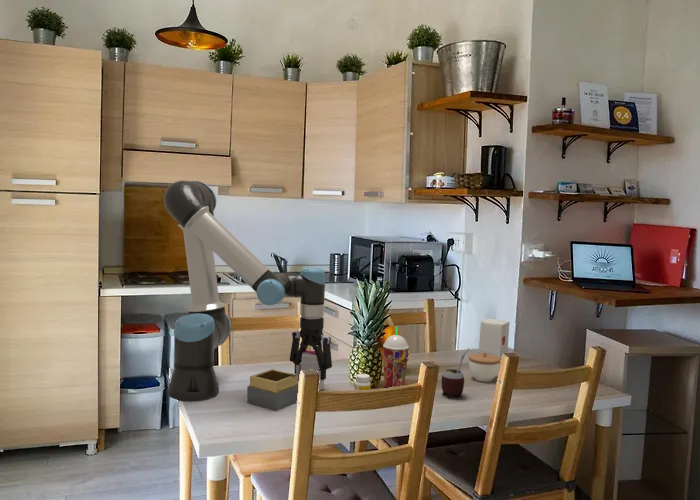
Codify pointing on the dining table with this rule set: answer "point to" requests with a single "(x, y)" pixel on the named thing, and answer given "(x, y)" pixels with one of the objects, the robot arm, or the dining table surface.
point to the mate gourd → (453, 381)
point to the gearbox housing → (273, 389)
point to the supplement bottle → (362, 382)
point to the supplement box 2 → (494, 337)
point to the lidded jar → (484, 366)
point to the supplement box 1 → (309, 361)
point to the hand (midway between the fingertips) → (309, 386)
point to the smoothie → (395, 360)
